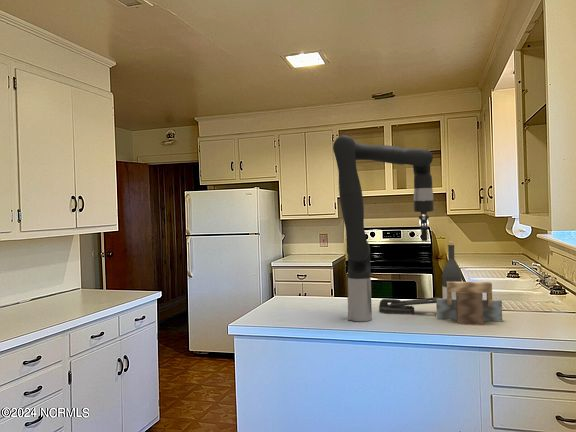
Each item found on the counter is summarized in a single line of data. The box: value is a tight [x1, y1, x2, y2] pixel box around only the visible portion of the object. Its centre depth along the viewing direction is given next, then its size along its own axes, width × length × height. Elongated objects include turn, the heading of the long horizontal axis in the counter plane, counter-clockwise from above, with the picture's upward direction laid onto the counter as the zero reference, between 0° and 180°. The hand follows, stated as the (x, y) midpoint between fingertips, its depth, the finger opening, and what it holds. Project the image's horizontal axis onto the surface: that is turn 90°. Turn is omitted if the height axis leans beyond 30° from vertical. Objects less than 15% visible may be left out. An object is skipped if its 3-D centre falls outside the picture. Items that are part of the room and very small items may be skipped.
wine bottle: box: [441, 240, 463, 299], centre depth 192 cm, size 8×8×30 cm
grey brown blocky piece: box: [435, 292, 503, 326], centre depth 174 cm, size 24×8×12 cm, turn 73°
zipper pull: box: [378, 296, 438, 315], centre depth 192 cm, size 9×7×25 cm
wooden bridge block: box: [447, 281, 493, 306], centre depth 173 cm, size 16×4×8 cm, turn 73°
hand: (424, 240), depth 179 cm, fingers open, 8 cm apart
